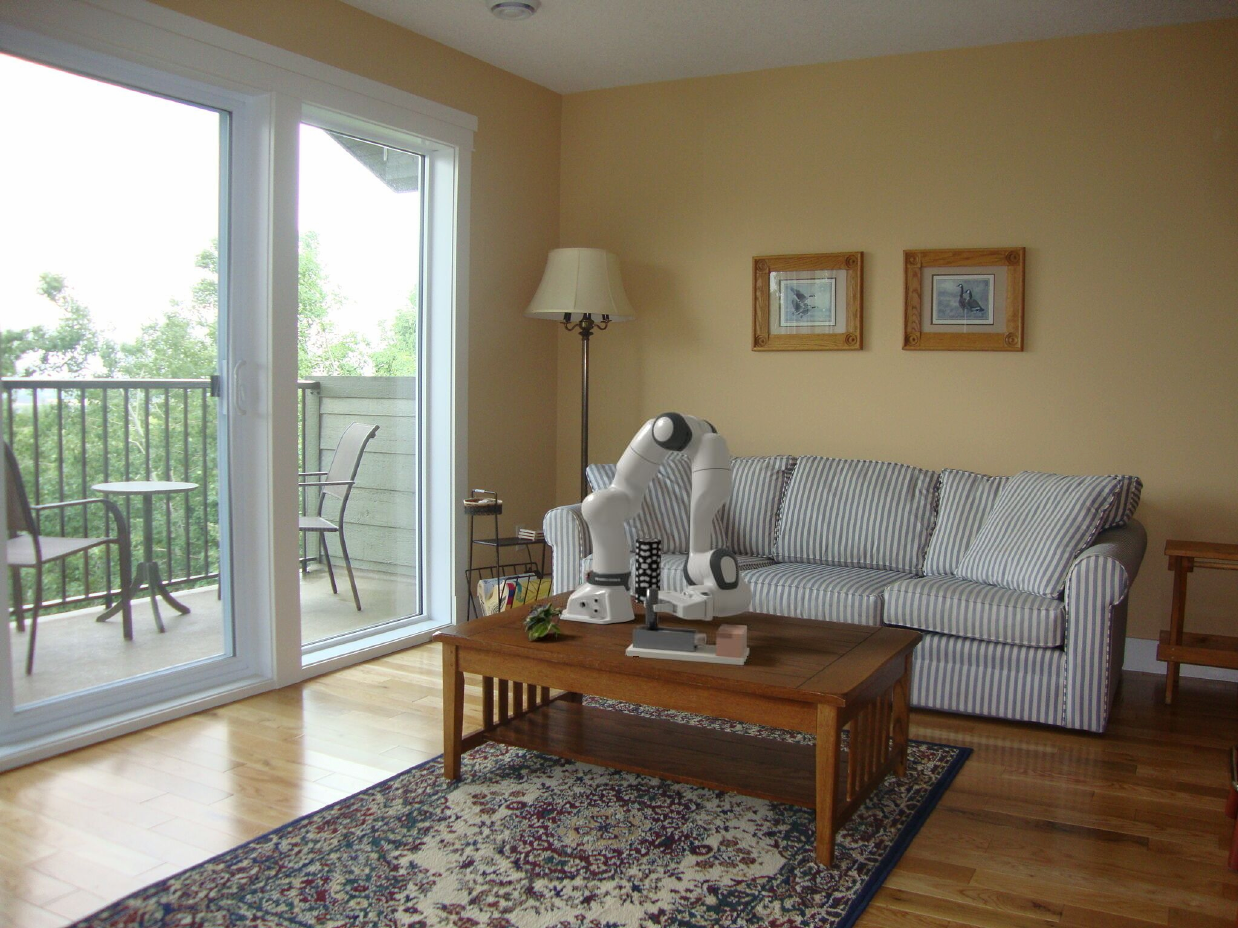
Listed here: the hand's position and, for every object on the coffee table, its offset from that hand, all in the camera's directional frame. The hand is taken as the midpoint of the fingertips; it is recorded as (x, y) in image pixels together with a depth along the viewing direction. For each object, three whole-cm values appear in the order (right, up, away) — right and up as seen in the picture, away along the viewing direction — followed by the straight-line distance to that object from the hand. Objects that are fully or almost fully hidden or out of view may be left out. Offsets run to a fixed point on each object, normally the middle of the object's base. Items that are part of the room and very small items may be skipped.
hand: (649, 606), depth 260 cm
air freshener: (-16, -8, +65) cm, 68 cm away
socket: (+21, -11, -4) cm, 24 cm away
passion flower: (-28, -11, +16) cm, 34 cm away
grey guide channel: (+4, -11, 0) cm, 11 cm away
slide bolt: (+6, -10, 0) cm, 12 cm away
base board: (+10, -12, -1) cm, 16 cm away
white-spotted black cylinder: (+2, -8, +67) cm, 67 cm away
